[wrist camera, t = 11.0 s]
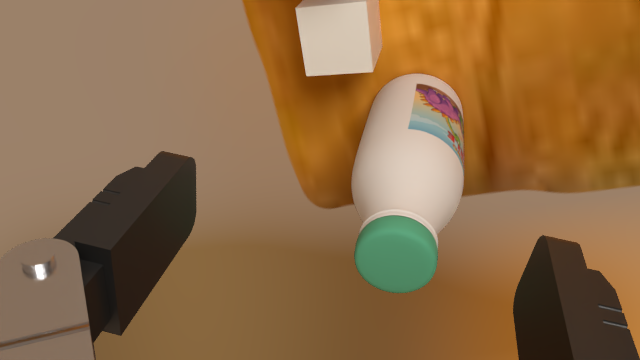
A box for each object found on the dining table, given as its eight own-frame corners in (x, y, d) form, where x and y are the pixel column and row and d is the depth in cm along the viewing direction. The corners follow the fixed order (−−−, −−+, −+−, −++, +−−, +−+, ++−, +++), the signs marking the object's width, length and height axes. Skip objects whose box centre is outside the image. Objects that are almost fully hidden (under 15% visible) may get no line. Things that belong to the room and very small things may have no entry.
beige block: (376, -18, 42) (366, 1, 37) (382, 46, 44) (373, 72, 39) (314, -12, 43) (295, 8, 38) (322, 50, 45) (306, 76, 40)
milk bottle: (386, 161, 49) (350, 322, 33) (360, 84, 46) (305, 220, 30) (472, 143, 47) (480, 308, 30) (451, 59, 43) (448, 194, 27)
